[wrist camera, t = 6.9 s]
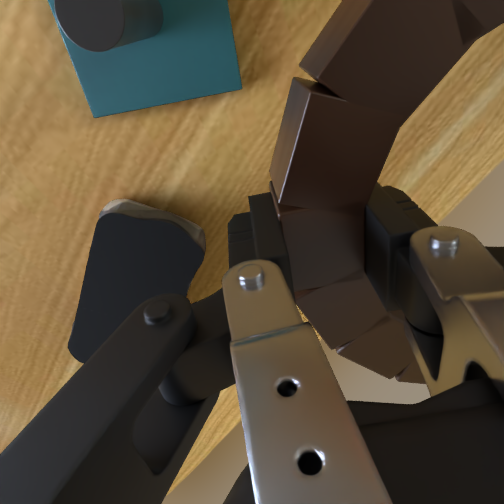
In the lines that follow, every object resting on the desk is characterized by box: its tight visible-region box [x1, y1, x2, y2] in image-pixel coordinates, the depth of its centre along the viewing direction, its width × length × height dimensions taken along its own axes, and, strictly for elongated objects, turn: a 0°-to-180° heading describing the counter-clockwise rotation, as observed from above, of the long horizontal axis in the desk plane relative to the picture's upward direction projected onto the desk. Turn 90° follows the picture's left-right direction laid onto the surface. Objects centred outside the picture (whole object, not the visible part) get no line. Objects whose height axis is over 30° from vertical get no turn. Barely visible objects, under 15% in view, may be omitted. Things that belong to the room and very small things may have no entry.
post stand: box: [48, 0, 242, 118], centre depth 18 cm, size 10×10×11 cm
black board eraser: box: [68, 199, 206, 363], centre depth 31 cm, size 16×8×4 cm, turn 157°
